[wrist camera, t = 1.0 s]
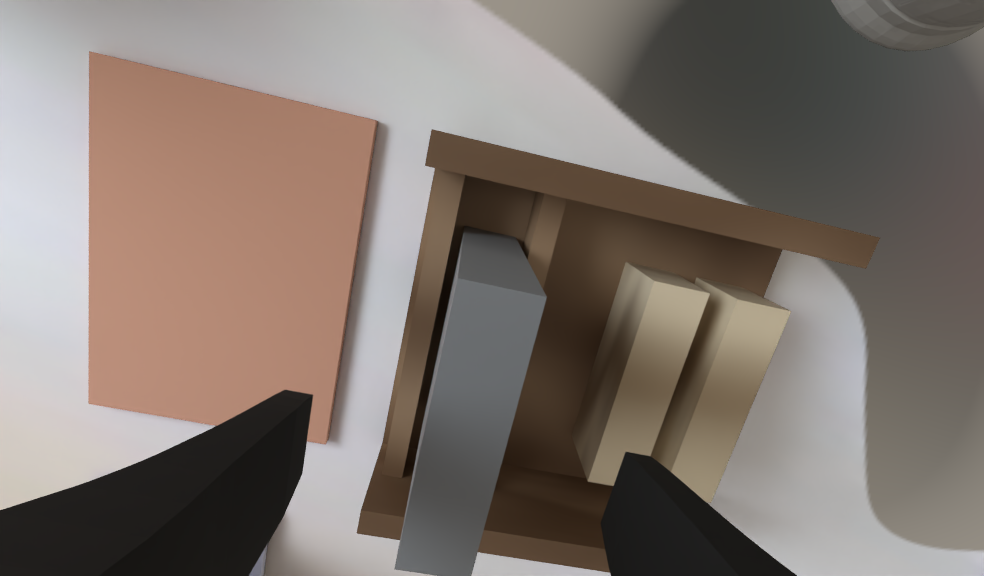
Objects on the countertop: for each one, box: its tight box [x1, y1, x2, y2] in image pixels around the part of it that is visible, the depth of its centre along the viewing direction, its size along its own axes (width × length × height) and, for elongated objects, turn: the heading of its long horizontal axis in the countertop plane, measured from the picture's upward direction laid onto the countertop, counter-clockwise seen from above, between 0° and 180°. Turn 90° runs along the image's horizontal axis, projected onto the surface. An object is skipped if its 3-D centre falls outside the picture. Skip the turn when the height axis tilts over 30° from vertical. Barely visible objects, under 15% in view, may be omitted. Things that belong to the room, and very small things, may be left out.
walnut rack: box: [357, 130, 880, 572], centre depth 18 cm, size 14×14×5 cm
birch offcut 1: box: [572, 262, 710, 486], centre depth 18 cm, size 8×2×3 cm, turn 167°
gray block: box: [395, 226, 547, 576], centre depth 15 cm, size 8×2×8 cm, turn 167°
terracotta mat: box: [89, 51, 378, 444], centre depth 19 cm, size 14×10×1 cm
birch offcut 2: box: [651, 278, 791, 503], centre depth 18 cm, size 8×2×3 cm, turn 167°
